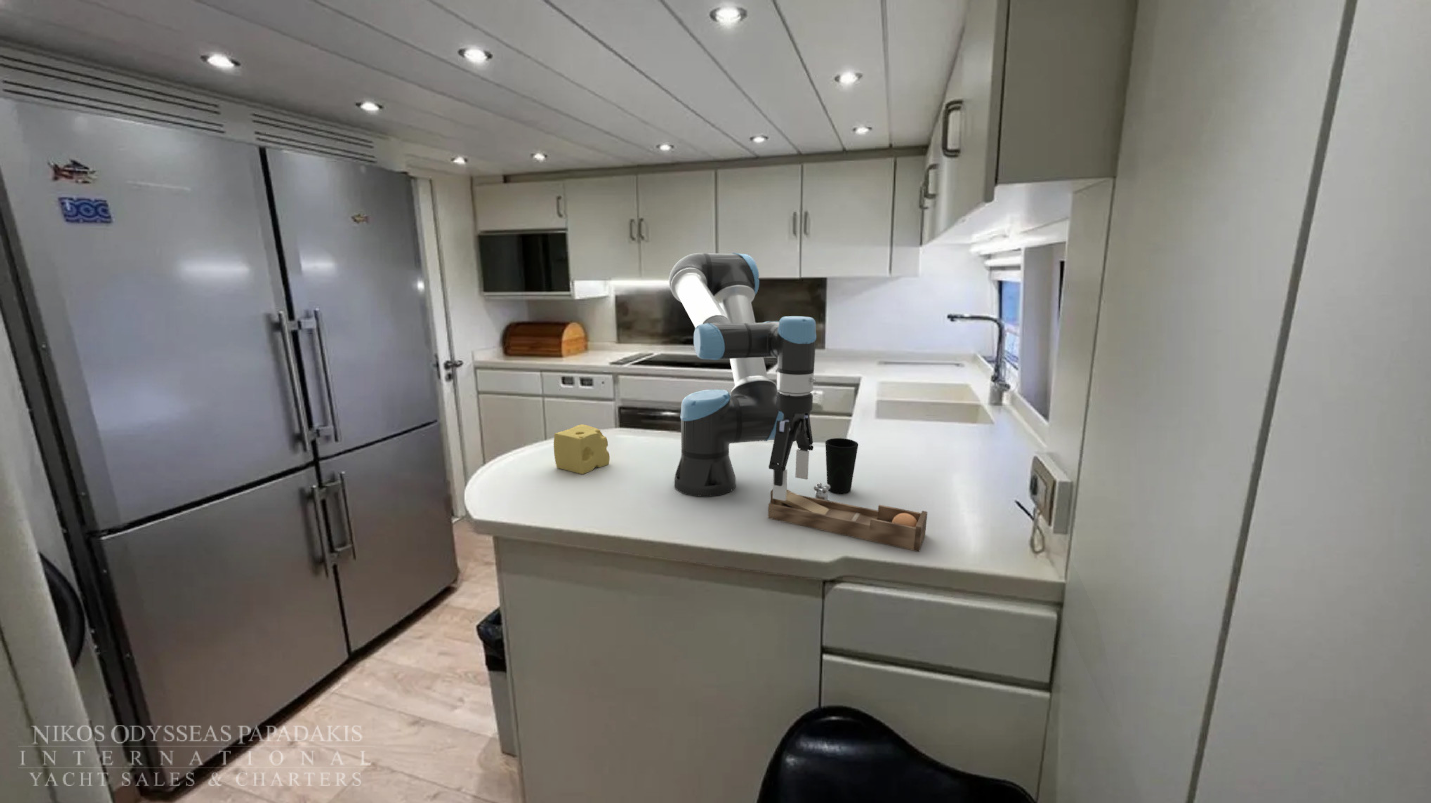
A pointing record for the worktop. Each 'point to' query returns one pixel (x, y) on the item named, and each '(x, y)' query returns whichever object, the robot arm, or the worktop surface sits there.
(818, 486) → the silver knobbed handle
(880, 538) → the lane
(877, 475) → the worktop surface
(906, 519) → the ball
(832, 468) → the cup
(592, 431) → the cheese
